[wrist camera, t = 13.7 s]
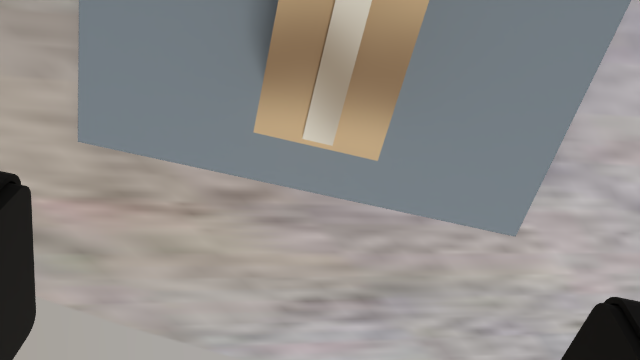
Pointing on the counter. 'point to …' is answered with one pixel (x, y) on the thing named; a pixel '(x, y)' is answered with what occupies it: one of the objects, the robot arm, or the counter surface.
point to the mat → (408, 117)
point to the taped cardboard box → (337, 71)
